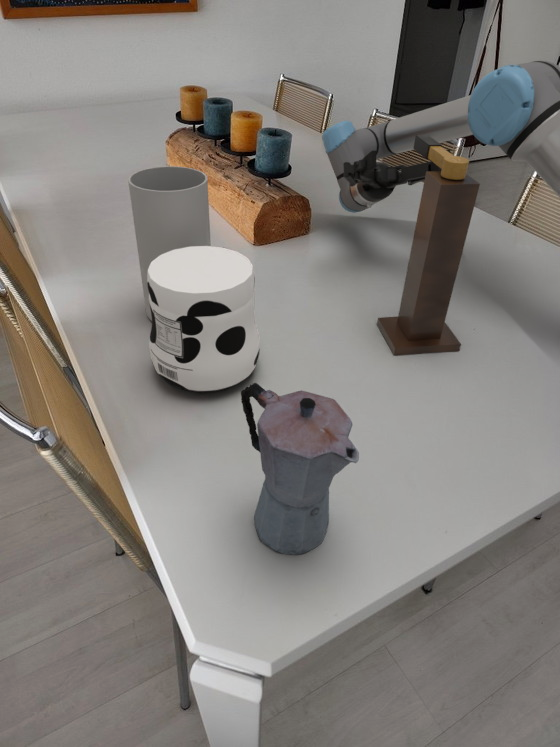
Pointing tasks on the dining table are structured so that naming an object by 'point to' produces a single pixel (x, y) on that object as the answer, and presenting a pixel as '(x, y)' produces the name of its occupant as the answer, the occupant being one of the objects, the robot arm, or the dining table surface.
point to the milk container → (203, 318)
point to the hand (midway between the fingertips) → (411, 158)
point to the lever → (441, 157)
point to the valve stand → (432, 268)
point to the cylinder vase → (168, 213)
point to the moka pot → (297, 464)
